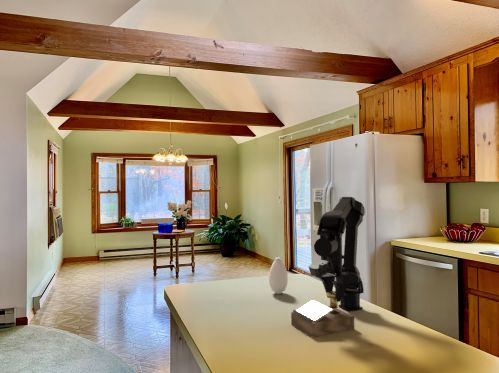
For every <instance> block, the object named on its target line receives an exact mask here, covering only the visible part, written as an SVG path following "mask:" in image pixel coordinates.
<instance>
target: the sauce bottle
mask: <svg viewBox="0 0 499 373" xmlns="http://www.w3.org/2000/svg"><path fill="white" fill-rule="evenodd" d="M279 254H280V253H279V252H277V257H275V258H274V260H273V262H272V264H271V266H270V269H269V274H268V283H269V287H270V289H271V291H273V293H274V294H276V293H277V294H276V295H280V293H281V294H283V292H285V291H286V289H287V287H288V286H287V285H288V280H289V279H288V272H287V268H286V265H285V263H284V262H283V261H282V258H281V257H280V255H279Z"/></svg>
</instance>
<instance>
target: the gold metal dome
mask: <svg viewBox="0 0 499 373" xmlns="http://www.w3.org/2000/svg"><path fill="white" fill-rule="evenodd" d="M325 294H326V297H327V296H328V297H330V298H329V306H330V308H337V309H339V308H338V307H339V304H338V302H337V301H336V292H335V290H332V291H327V292H326V291H325ZM328 297H327V298H328Z"/></svg>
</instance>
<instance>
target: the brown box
mask: <svg viewBox="0 0 499 373" xmlns="http://www.w3.org/2000/svg"><path fill="white" fill-rule="evenodd" d="M327 307H329V308H330V305H329V306H327ZM331 309H332V310H333V311H332V312H330V313H329V314H327V315H326V316H324V317H323V318H321V319H320V320H318V321H317V322H314V321H312V319H311V318H309V317H307V316H306V315H304V314H302V313H300V312H298V311H296V310H297V309H293V310H292V311H290V312H291V313H290V314H291V315H290V316H291V317H290V319H291V320H290V321H291V322H290V324H291V326H293V327H295V328H297V329H298V330H300V331H301V332H303V333H305V334H306V335H308V336H309V337H311V338H313V337H315V338H316V337H320V336H324V335H330V334H335V333H340V332H347V331H351V330H355V316H354V315H352V314H350V313H348V312H346V311H343V310H341V309H339V308H331Z"/></svg>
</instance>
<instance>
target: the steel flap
mask: <svg viewBox="0 0 499 373" xmlns="http://www.w3.org/2000/svg"><path fill="white" fill-rule="evenodd" d="M295 310H296V311H298V312H300V313H302V314H304V315H306V316H307V317H309V318H311V319H312V321H314V322H317V321H318V320H320V319H321V318H323V317H324V316H326V315H327V314H329V313H330V312H332V311H333V310H332V309H331V308H329V307H328V306H326V305H324V304H322V303H320V302H318V301H316V300H313V299H312V300H310V301H309V302H307V303H305V304H304V305H302V306H301V307H299V308H298V309H295Z"/></svg>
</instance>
